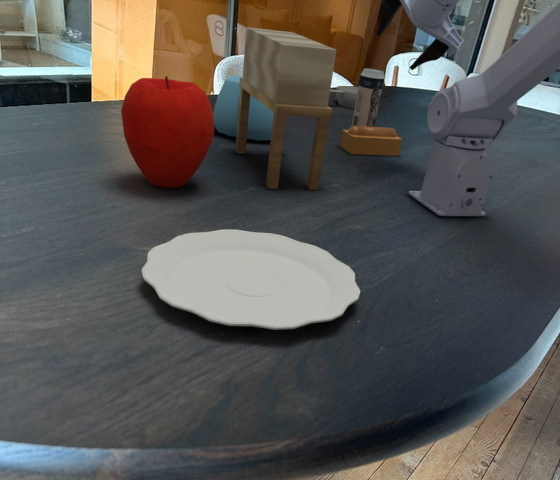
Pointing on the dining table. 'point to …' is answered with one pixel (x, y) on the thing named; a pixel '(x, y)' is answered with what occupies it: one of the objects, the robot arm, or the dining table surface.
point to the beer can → (368, 97)
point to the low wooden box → (371, 141)
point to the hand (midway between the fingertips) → (397, 48)
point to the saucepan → (346, 95)
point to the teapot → (228, 113)
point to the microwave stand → (286, 91)
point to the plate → (250, 279)
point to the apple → (167, 129)
